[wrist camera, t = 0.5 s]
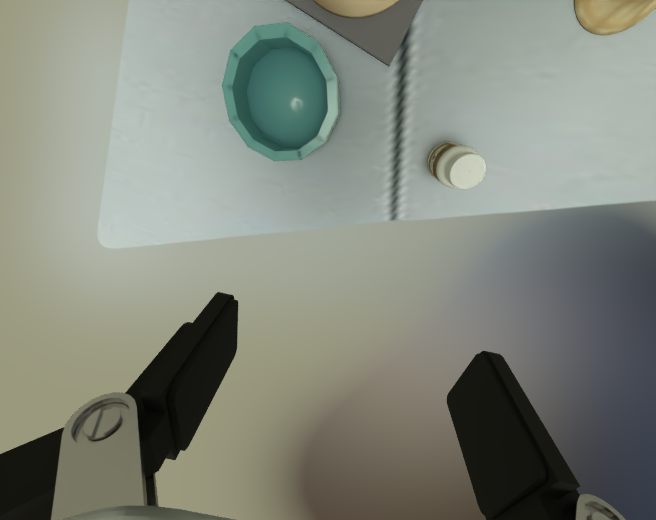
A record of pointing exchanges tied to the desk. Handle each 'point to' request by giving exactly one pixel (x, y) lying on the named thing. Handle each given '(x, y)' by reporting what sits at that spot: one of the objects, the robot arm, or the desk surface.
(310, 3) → the mat
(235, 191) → the desk surface
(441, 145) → the pill bottle
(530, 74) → the desk surface
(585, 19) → the hand bell
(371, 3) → the lid
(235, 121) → the bowl
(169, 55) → the desk surface
